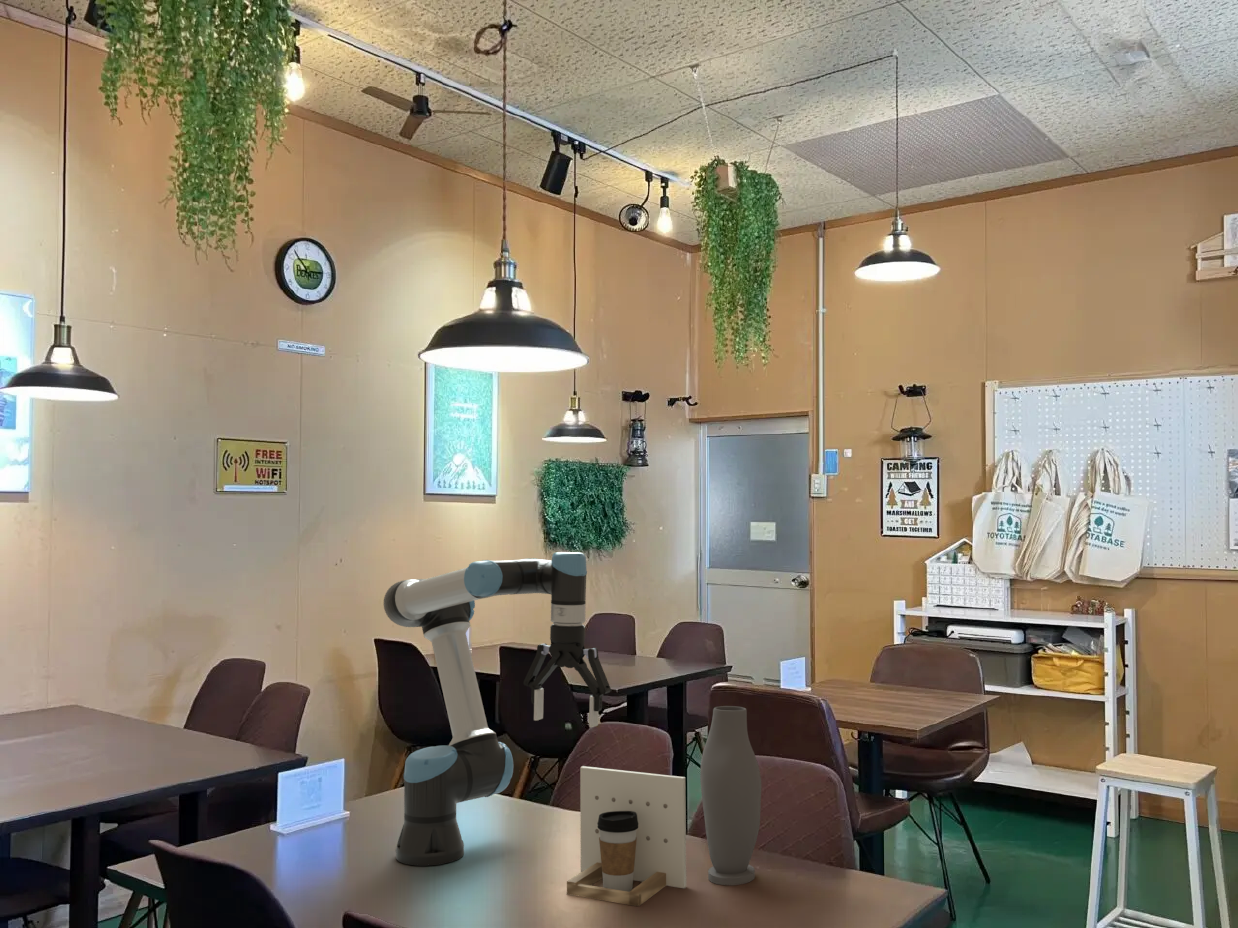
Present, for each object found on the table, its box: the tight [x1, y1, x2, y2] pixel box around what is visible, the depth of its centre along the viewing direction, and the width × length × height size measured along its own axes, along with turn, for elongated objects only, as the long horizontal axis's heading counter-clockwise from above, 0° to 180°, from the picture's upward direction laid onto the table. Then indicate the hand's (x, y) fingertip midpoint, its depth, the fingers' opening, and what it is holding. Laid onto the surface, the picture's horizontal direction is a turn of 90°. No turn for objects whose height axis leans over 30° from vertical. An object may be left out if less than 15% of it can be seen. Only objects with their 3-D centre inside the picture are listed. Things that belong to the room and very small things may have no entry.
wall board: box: [579, 765, 687, 889], centre depth 215 cm, size 24×1×22 cm, turn 64°
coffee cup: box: [597, 811, 639, 892], centre depth 209 cm, size 8×8×15 cm
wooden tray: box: [566, 863, 667, 907], centre depth 208 cm, size 16×13×2 cm
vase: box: [699, 705, 762, 886], centre depth 217 cm, size 13×13×35 cm
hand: (565, 722), depth 220 cm, fingers open, 13 cm apart
